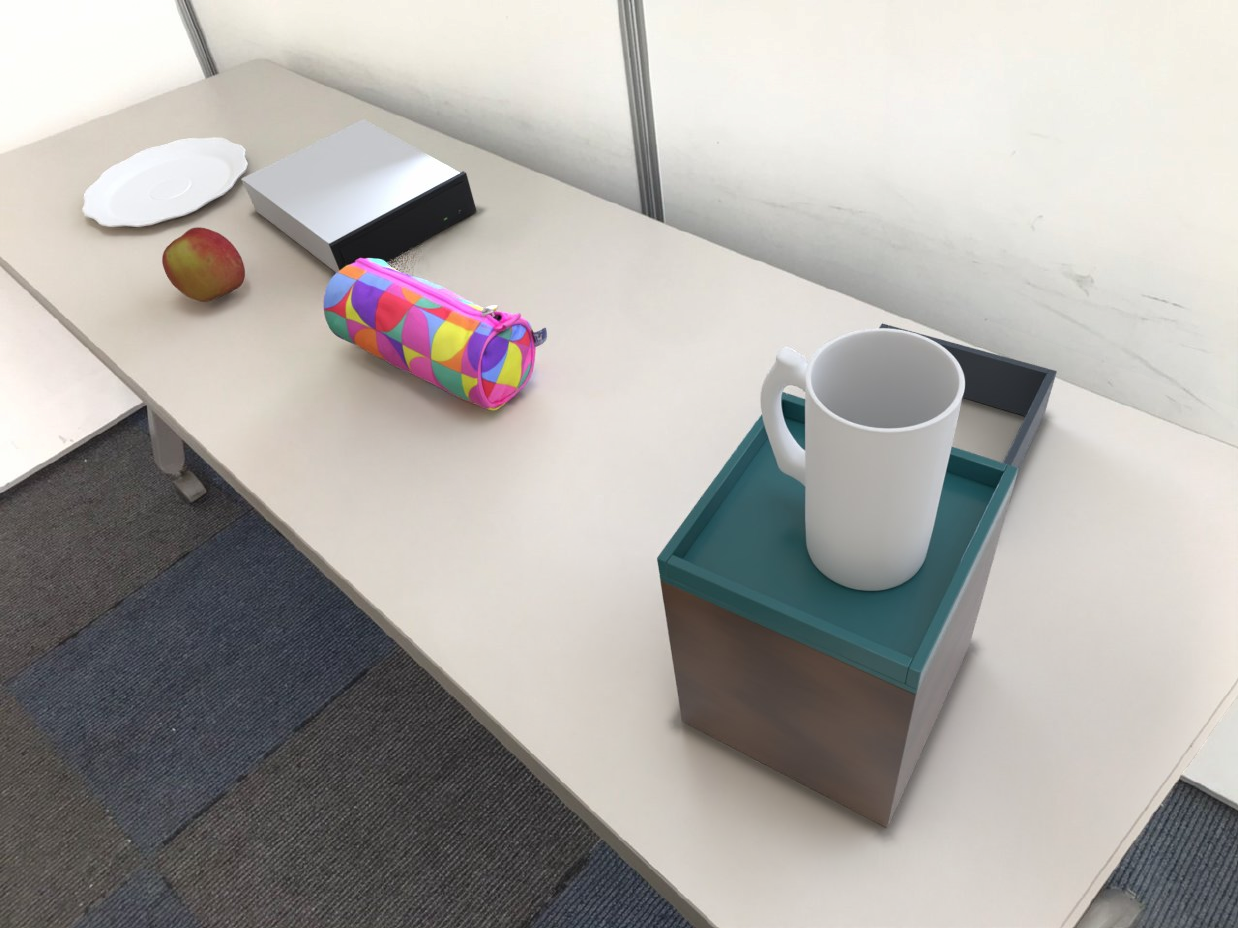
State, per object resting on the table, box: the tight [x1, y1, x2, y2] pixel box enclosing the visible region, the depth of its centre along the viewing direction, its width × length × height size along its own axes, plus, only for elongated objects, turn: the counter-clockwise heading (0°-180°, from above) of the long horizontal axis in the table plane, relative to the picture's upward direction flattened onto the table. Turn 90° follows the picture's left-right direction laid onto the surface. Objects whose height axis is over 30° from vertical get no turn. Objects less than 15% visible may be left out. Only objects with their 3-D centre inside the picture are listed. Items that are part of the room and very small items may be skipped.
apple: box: [161, 226, 246, 303], centre depth 101 cm, size 8×8×8 cm
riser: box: [659, 492, 1013, 829], centre depth 57 cm, size 14×14×16 cm
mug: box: [760, 327, 965, 591], centre depth 47 cm, size 10×7×12 cm, turn 47°
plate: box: [81, 136, 249, 228], centre depth 121 cm, size 21×21×2 cm
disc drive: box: [241, 118, 477, 274], centre depth 110 cm, size 18×22×5 cm
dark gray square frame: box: [878, 322, 1058, 471], centre depth 74 cm, size 14×14×5 cm
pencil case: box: [323, 258, 548, 411], centre depth 87 cm, size 22×9×9 cm, turn 56°
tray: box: [656, 391, 1019, 694], centre depth 51 cm, size 14×14×2 cm
